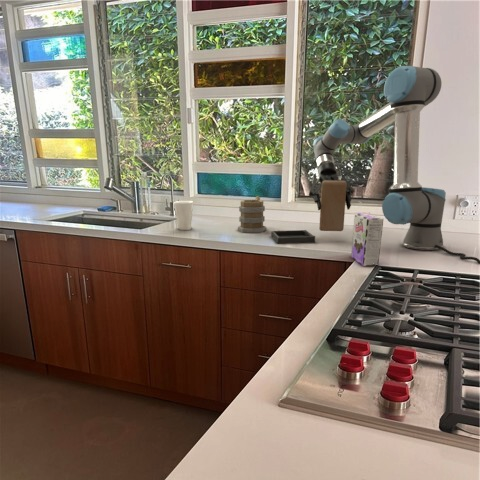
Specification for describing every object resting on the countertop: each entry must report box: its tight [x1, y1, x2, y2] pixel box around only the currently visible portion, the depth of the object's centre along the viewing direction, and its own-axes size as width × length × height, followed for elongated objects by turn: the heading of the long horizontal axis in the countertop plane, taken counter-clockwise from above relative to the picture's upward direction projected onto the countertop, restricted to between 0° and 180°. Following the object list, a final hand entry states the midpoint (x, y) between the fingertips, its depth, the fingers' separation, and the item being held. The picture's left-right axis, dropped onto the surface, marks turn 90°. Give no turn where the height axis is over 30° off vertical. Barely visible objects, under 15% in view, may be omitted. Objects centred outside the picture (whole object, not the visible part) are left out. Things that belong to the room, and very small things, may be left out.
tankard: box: [237, 195, 267, 234], centre depth 225 cm, size 20×13×15 cm, turn 161°
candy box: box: [350, 211, 385, 267], centre depth 162 cm, size 14×6×16 cm, turn 4°
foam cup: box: [173, 200, 194, 231], centre depth 228 cm, size 10×9×13 cm
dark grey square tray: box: [270, 229, 316, 245], centre depth 203 cm, size 16×16×2 cm
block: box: [318, 180, 347, 232], centre depth 196 cm, size 10×10×20 cm
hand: (334, 207), depth 193 cm, fingers closed on block, 12 cm apart
